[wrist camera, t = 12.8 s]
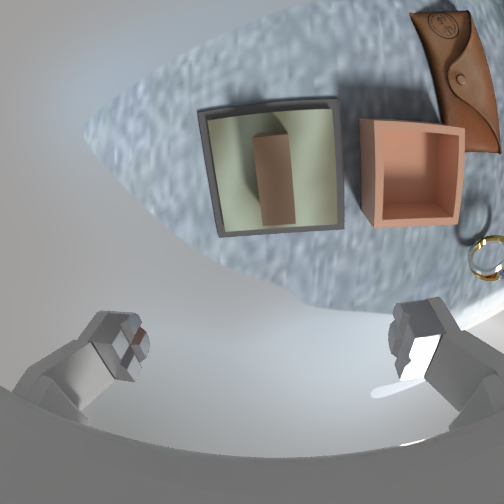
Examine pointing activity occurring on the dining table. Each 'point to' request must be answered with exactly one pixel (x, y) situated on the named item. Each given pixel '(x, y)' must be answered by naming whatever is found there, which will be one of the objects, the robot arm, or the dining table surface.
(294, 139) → the lid
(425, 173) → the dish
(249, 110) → the mat
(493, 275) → the ring
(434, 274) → the dining table surface
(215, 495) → the robot arm
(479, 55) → the sunglasses case
